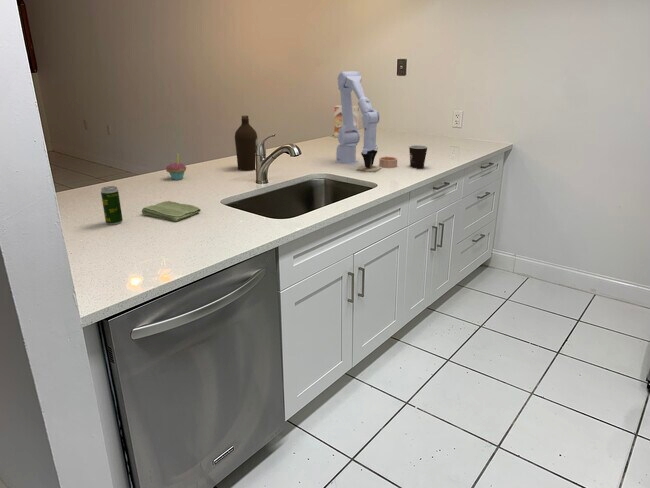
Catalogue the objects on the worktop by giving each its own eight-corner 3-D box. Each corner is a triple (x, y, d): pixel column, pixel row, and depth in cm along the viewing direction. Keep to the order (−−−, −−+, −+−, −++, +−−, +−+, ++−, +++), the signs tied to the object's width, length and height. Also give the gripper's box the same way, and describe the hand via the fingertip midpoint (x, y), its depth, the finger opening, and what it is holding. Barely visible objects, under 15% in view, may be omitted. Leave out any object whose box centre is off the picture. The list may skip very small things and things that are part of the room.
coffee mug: (425, 169, 245) (427, 149, 241) (407, 168, 246) (408, 148, 243) (426, 164, 255) (427, 144, 252) (408, 163, 257) (410, 144, 253)
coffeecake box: (334, 137, 330) (334, 106, 323) (335, 135, 336) (335, 105, 329) (357, 138, 327) (357, 106, 320) (358, 136, 334) (358, 105, 327)
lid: (355, 170, 241) (356, 160, 240) (363, 166, 250) (363, 156, 248) (374, 172, 238) (375, 162, 236) (381, 168, 246) (382, 158, 244)
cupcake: (190, 177, 230) (188, 150, 226) (179, 181, 223) (177, 154, 218) (174, 175, 233) (171, 149, 228) (163, 180, 225) (160, 153, 221)
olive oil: (239, 171, 240) (235, 117, 231) (234, 167, 249) (231, 114, 240) (261, 170, 243) (258, 116, 234) (256, 165, 252) (253, 113, 243)
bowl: (376, 167, 249) (377, 159, 247) (382, 164, 256) (382, 156, 255) (393, 169, 245) (394, 161, 244) (398, 165, 253) (399, 157, 251)
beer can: (117, 219, 175) (112, 185, 170) (126, 222, 172) (121, 187, 167) (102, 223, 171) (97, 188, 167) (111, 226, 168) (105, 191, 163)
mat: (355, 171, 241) (355, 170, 241) (362, 167, 250) (362, 166, 250) (375, 173, 238) (375, 172, 237) (382, 169, 246) (382, 168, 246)
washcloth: (177, 224, 171) (176, 215, 170) (139, 216, 179) (138, 207, 178) (203, 213, 182) (202, 205, 181) (167, 206, 190) (166, 198, 189)
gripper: (372, 140, 230) (371, 170, 235) (383, 136, 243) (381, 164, 248) (358, 139, 233) (357, 168, 238) (369, 134, 245) (368, 162, 250)
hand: (368, 166), depth 243 cm, fingers open, 3 cm apart
